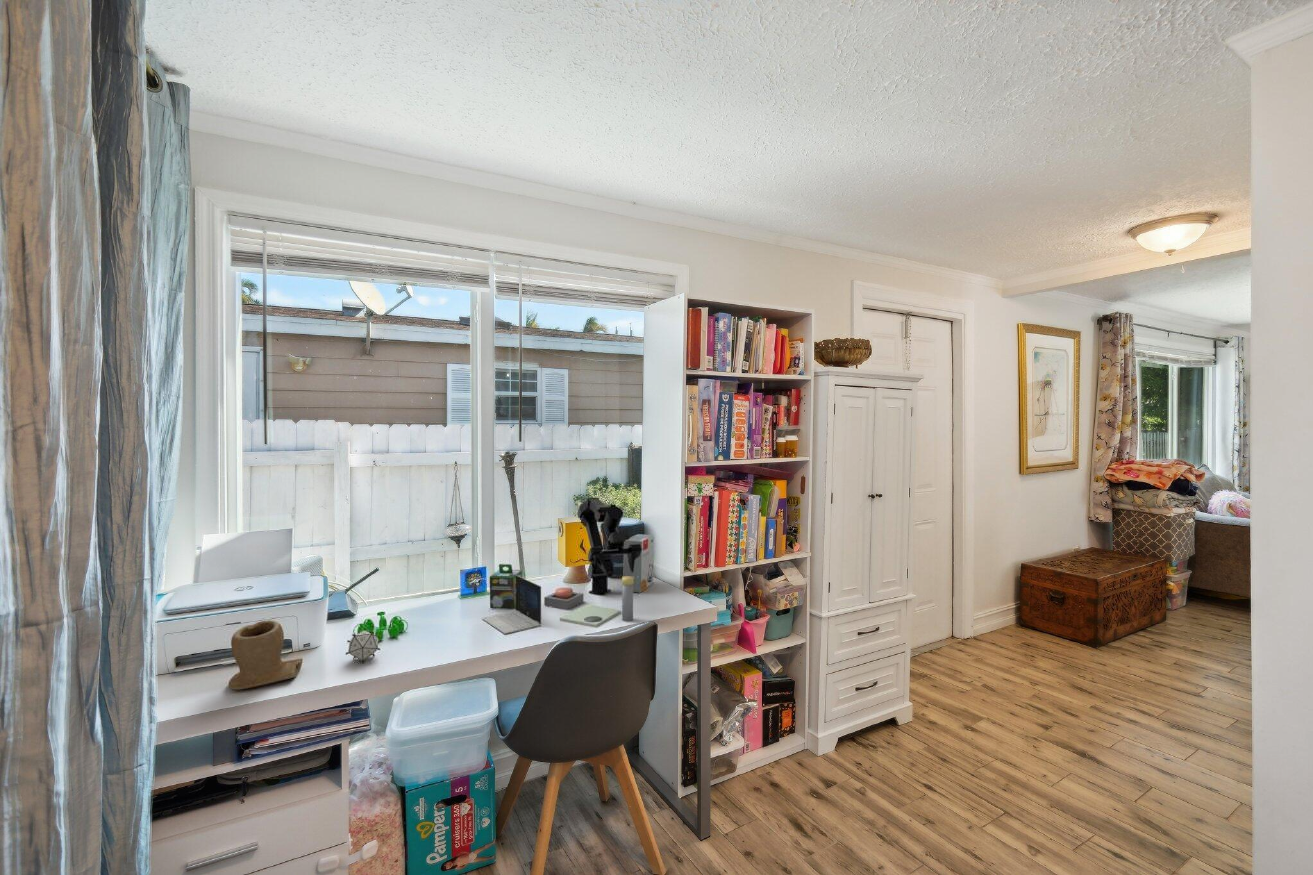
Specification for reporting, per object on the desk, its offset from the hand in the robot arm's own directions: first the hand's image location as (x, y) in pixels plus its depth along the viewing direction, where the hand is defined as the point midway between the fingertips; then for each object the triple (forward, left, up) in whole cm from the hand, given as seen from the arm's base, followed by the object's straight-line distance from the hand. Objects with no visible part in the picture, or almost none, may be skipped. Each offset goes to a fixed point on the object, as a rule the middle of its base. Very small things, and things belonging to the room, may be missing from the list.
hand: (620, 573), depth 194 cm
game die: (+66, -43, -14) cm, 80 cm away
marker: (+5, +6, -13) cm, 16 cm away
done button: (+1, -23, -11) cm, 25 cm away
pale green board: (+8, -7, -13) cm, 17 cm away
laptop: (+25, -26, -14) cm, 39 cm away
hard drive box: (-30, -9, -14) cm, 34 cm away
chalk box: (+11, -41, -14) cm, 44 cm away
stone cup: (+86, -52, -14) cm, 101 cm away
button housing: (+1, -23, -13) cm, 26 cm away
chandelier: (+51, -55, -14) cm, 76 cm away
